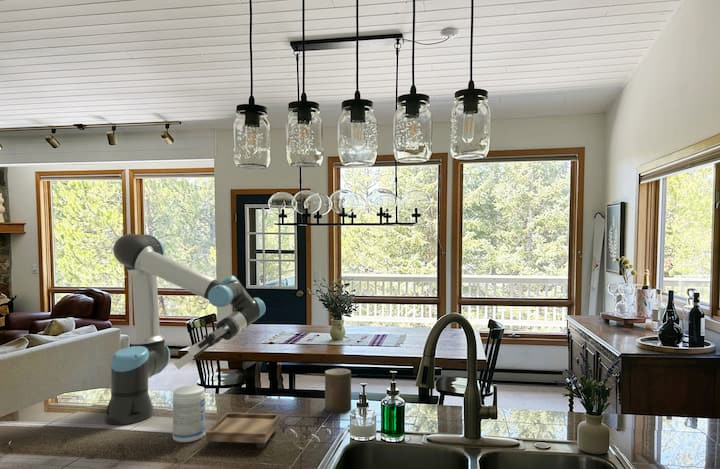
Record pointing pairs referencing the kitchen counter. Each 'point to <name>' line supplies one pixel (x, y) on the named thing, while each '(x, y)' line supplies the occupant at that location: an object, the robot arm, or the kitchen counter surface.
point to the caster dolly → (243, 428)
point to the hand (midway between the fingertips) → (182, 360)
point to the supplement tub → (188, 413)
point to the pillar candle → (338, 390)
